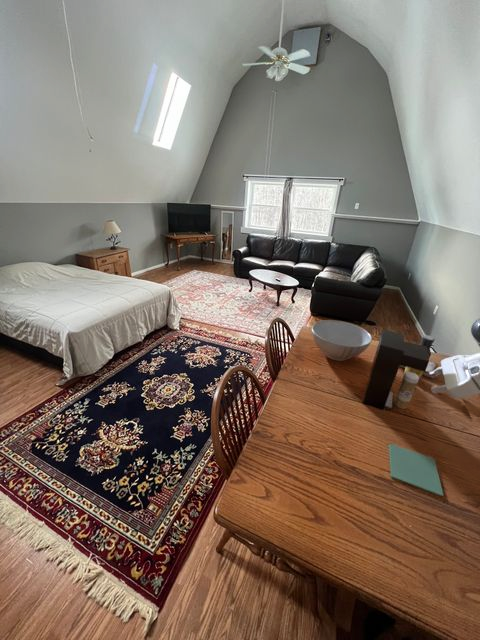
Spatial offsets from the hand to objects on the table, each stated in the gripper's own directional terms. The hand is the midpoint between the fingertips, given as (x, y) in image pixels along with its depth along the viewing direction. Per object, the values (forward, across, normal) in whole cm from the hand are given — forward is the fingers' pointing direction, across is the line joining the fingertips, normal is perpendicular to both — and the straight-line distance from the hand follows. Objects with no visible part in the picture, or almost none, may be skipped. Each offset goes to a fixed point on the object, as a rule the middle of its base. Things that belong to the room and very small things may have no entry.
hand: (430, 382), depth 92 cm
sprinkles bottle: (+13, +1, +4) cm, 14 cm away
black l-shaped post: (+17, +1, +1) cm, 17 cm away
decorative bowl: (+33, -23, -15) cm, 43 cm away
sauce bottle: (+10, -22, +8) cm, 25 cm away
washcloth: (+10, -33, +8) cm, 35 cm away
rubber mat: (+10, +29, +7) cm, 31 cm away
